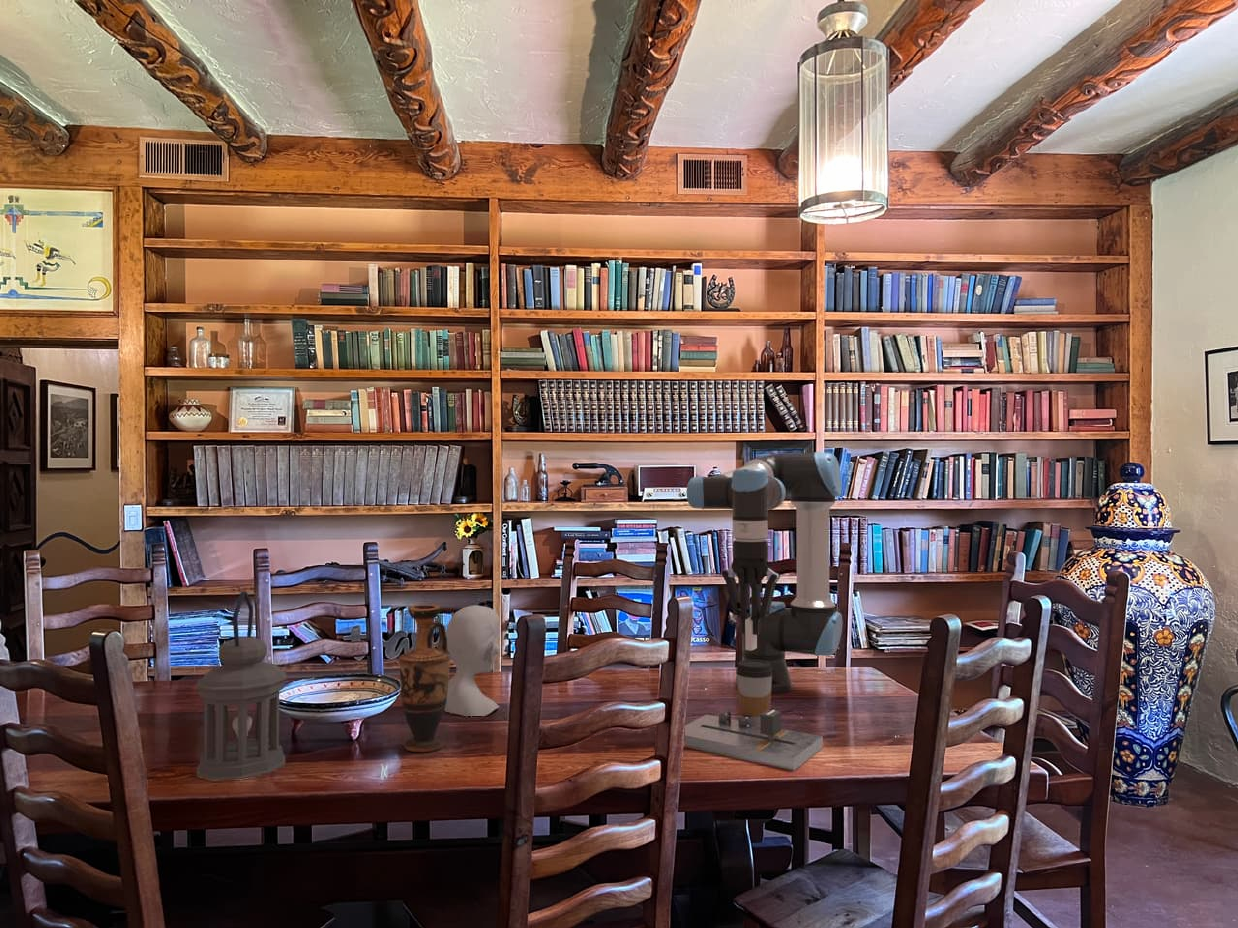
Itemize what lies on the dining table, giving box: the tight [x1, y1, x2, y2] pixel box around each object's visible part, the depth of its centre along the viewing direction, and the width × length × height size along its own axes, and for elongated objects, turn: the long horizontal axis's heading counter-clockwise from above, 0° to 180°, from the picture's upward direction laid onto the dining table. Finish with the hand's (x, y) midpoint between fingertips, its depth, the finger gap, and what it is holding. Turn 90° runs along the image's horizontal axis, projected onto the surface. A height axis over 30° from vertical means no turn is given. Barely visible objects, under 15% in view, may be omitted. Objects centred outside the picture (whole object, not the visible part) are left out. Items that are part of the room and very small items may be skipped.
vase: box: [398, 604, 451, 754], centre depth 172 cm, size 11×11×30 cm
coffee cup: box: [735, 660, 773, 725], centre depth 185 cm, size 8×8×15 cm
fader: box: [760, 709, 782, 741], centre depth 169 cm, size 4×3×7 cm, turn 146°
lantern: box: [196, 590, 288, 780], centre depth 161 cm, size 17×17×35 cm
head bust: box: [444, 604, 501, 718], centre depth 205 cm, size 22×19×25 cm
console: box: [684, 710, 824, 771], centre depth 173 cm, size 16×28×4 cm, turn 56°
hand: (751, 648), depth 173 cm, fingers closed
